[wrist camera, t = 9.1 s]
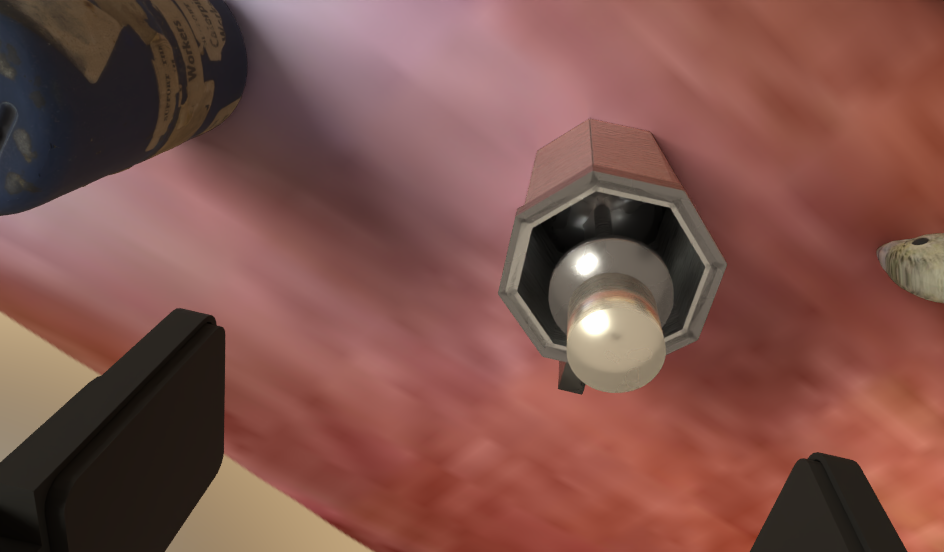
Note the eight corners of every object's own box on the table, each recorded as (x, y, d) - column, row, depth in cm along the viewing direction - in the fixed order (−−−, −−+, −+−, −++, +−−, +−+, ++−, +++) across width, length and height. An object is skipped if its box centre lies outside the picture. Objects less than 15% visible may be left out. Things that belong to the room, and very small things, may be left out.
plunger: (564, 148, 37) (555, 262, 23) (666, 170, 37) (722, 300, 22) (541, 242, 39) (520, 397, 25) (636, 263, 39) (670, 433, 25)
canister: (290, 70, 40) (90, 142, 23) (185, 161, 43) (-53, 279, 27) (173, -77, 37) (-140, -111, 21) (72, 31, 40) (-266, 76, 24)
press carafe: (542, 102, 38) (529, 156, 27) (700, 136, 38) (749, 205, 27) (502, 279, 43) (477, 384, 32) (642, 311, 43) (663, 428, 32)
